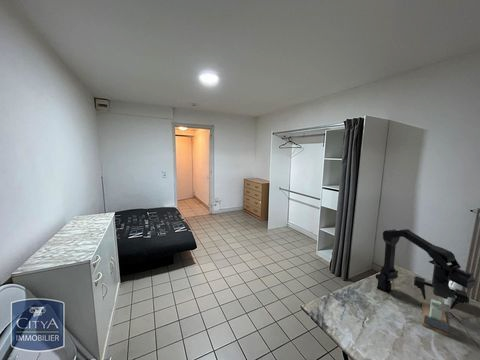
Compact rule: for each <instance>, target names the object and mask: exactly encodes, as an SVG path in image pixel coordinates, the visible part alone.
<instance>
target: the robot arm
mask: <svg viewBox="0 0 480 360" xmlns="http://www.w3.org/2000/svg"><path fill="white" fill-rule="evenodd" d="M402 237H403V238H404V239H406V240H408V241H409V242H411V243H412V244H413V245H416V246H417V247H418V248H420V249H421V250H423V251H424V252H426V253H427V255H428V256H429V257H430V258H431V259H432V260H428V263H429V264H432V265H433V272H432V279H431V282H428V281H425V278H423V277H420V276H414V277H413V286H414V287H416V288H417V289H419V290H420V292H421V294H422V297H423V300H424V301H425V300H426V287H428V288H431V289H433V290H432V291H433V292H432V293H433V295H434V296H437V297H440V298H443V300H444V299H448V297H450V298H452V300H451V304H450V306H449V309H450V310H453V308H454V307H456V305H458V304H469V303H470V297H469V293H468V292H467V291H465V290H461V289H459V288H458V289H455V290H452V289H451V288H449V281H453V282H455V283H457V284H458V285H459V286H461V287H464V288H465V289H468V290H472V289H473V288H474V287H475V284H476V279H475V277H474V274H473V273H471V272H469V271H468V272H467V271H465V270H462V269H461V268H462V266H461V265H460V264H459V262H458V260H457V259H456V256H455V254H454V252H452V251H451V250H448V249H446V248H443V247H441V246H438V245H435V244H432V243H431V242H430V241H428V240H426V239H425V238H423V237H421V236H419V235H417V234H416V233H414V232H413V231H411V230H410V229H408V228H404V229H400V230H397V229H386V230H384V231H383V232H382V239H383V242H384V243H385V244H384V245H385V247H384V260H383V262H384V263H383V266H382V267H381V268H380V272H379V273H377V274H375V279H376V280H377V284H376V285H377V286H376V289H377V290H380V291H382V292H385V293H388V294H390V293H391V291H392V285H393V283H392V282H393V281H394V280H396V279H397V278H398V274H399V270H397V269H395V259H396V258H395V257H396V245H397V244H398V242H399V241H400V238H402ZM391 281H392V282H391Z"/></svg>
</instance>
